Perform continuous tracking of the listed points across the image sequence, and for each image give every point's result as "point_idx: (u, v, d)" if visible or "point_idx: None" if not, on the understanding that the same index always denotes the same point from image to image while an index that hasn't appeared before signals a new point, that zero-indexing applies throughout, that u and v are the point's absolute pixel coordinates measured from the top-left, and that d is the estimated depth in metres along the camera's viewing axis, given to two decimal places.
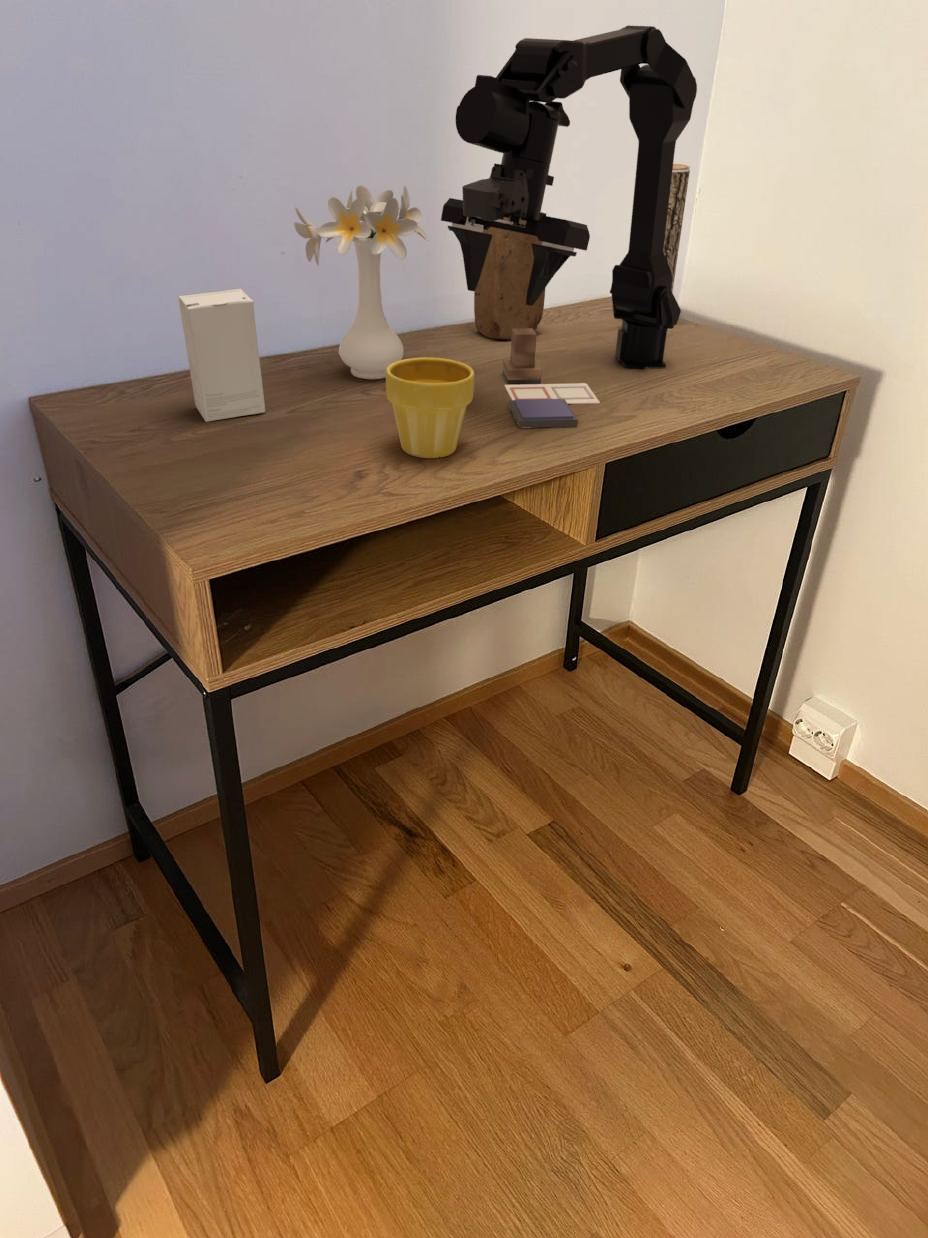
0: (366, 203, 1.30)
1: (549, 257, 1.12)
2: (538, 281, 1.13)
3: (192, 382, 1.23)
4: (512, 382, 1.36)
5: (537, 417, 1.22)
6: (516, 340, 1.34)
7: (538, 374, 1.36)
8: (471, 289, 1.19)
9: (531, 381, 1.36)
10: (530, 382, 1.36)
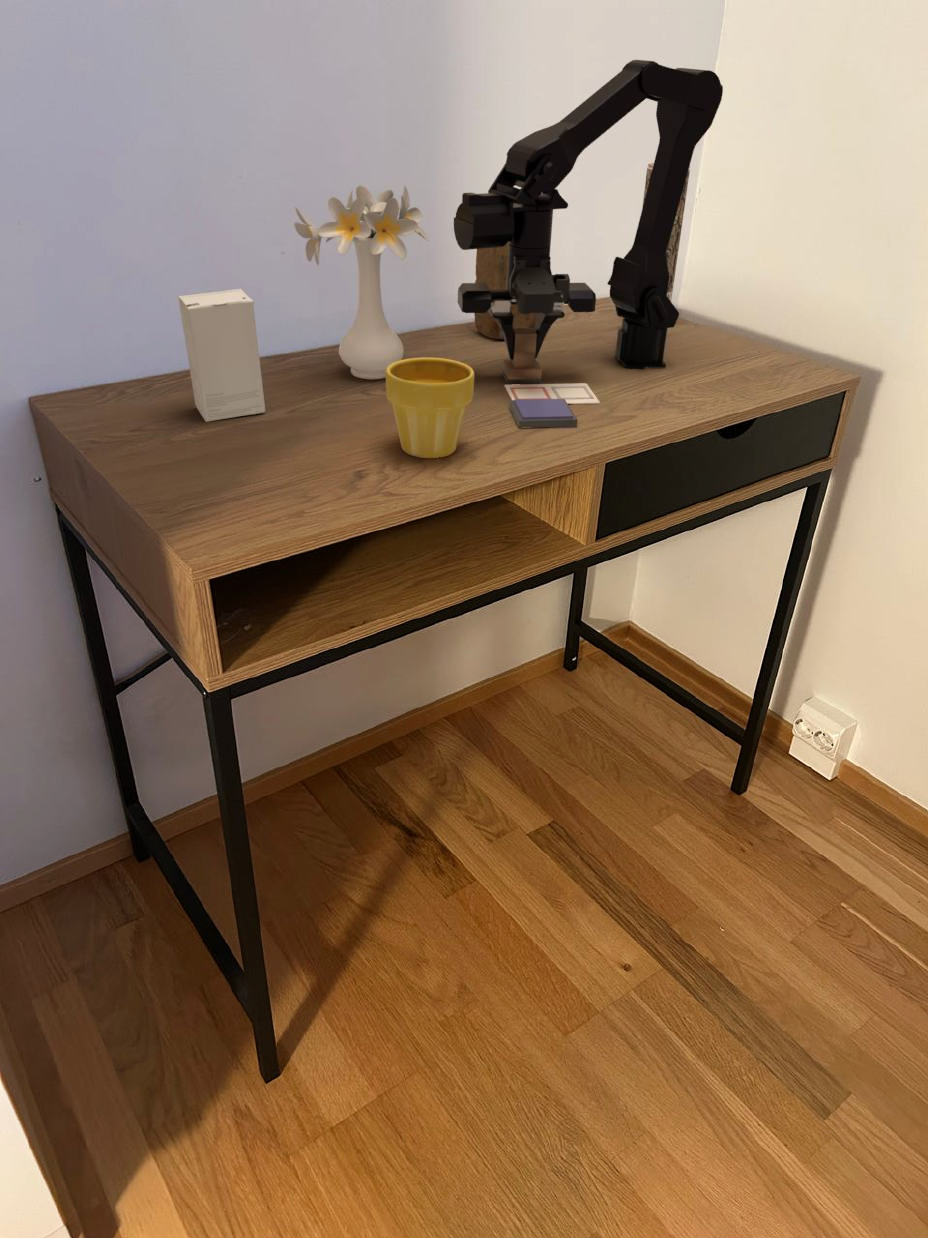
0: (366, 203, 1.30)
1: None
2: None
3: (192, 382, 1.23)
4: (512, 382, 1.36)
5: (537, 417, 1.22)
6: (516, 340, 1.34)
7: (538, 373, 1.36)
8: None
9: (531, 380, 1.36)
10: (530, 382, 1.36)
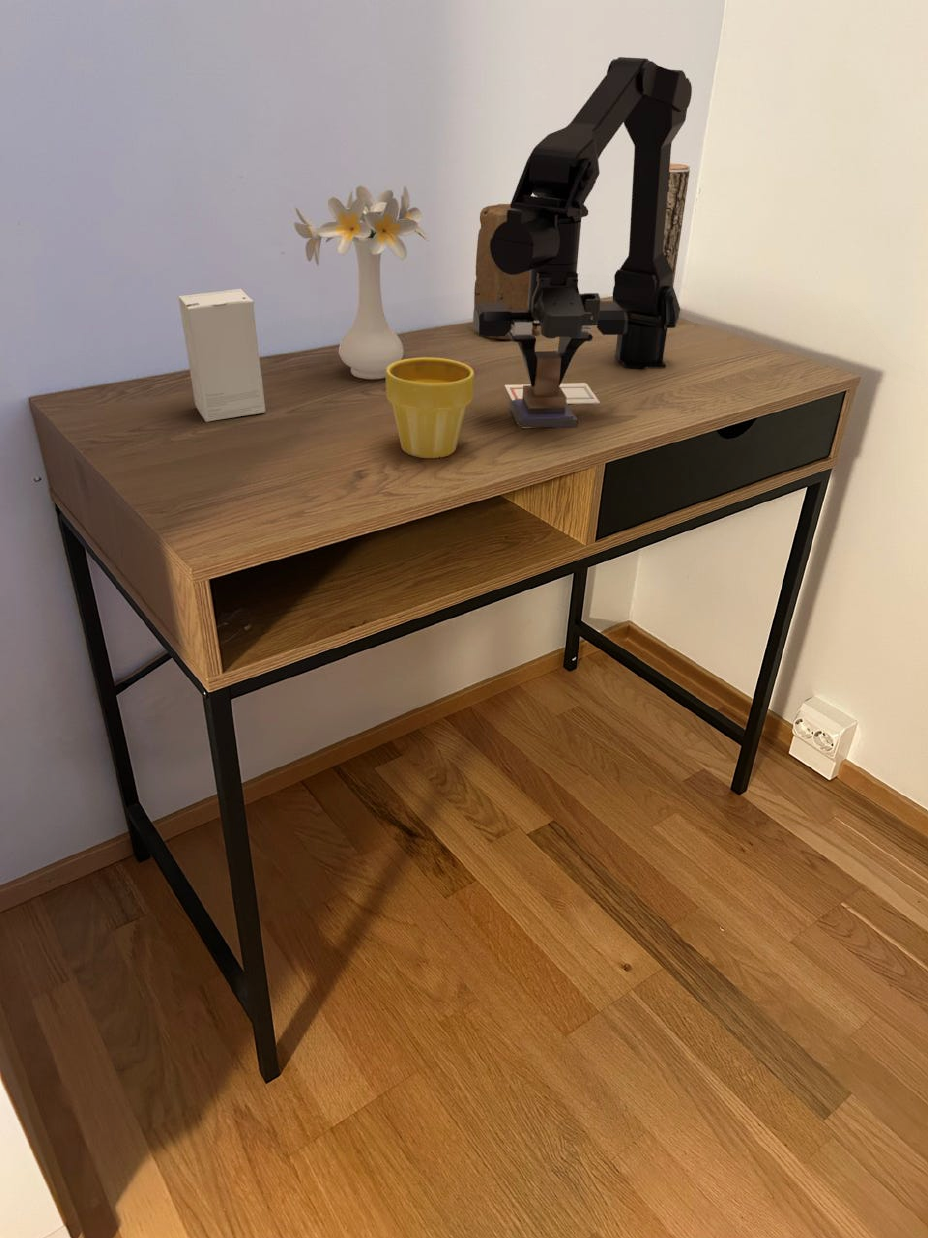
0: (366, 203, 1.30)
1: None
2: None
3: (192, 382, 1.23)
4: (533, 411, 1.22)
5: (537, 417, 1.22)
6: (538, 365, 1.20)
7: (562, 402, 1.22)
8: None
9: (555, 409, 1.23)
10: (553, 411, 1.23)
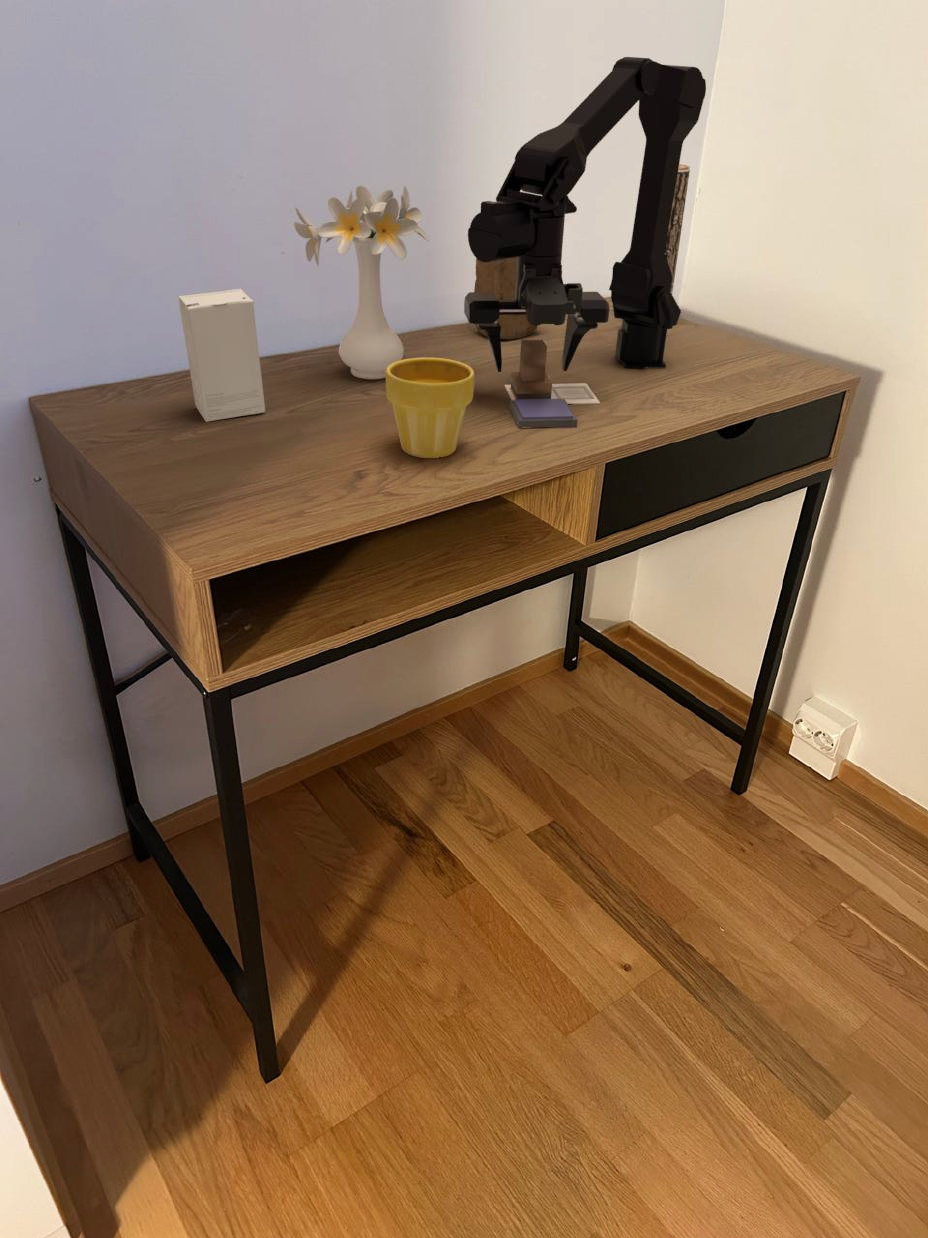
0: (366, 203, 1.30)
1: None
2: None
3: (192, 382, 1.23)
4: (521, 396, 1.30)
5: (537, 417, 1.22)
6: (525, 352, 1.28)
7: (548, 387, 1.30)
8: (500, 370, 1.30)
9: (541, 395, 1.30)
10: (540, 396, 1.30)
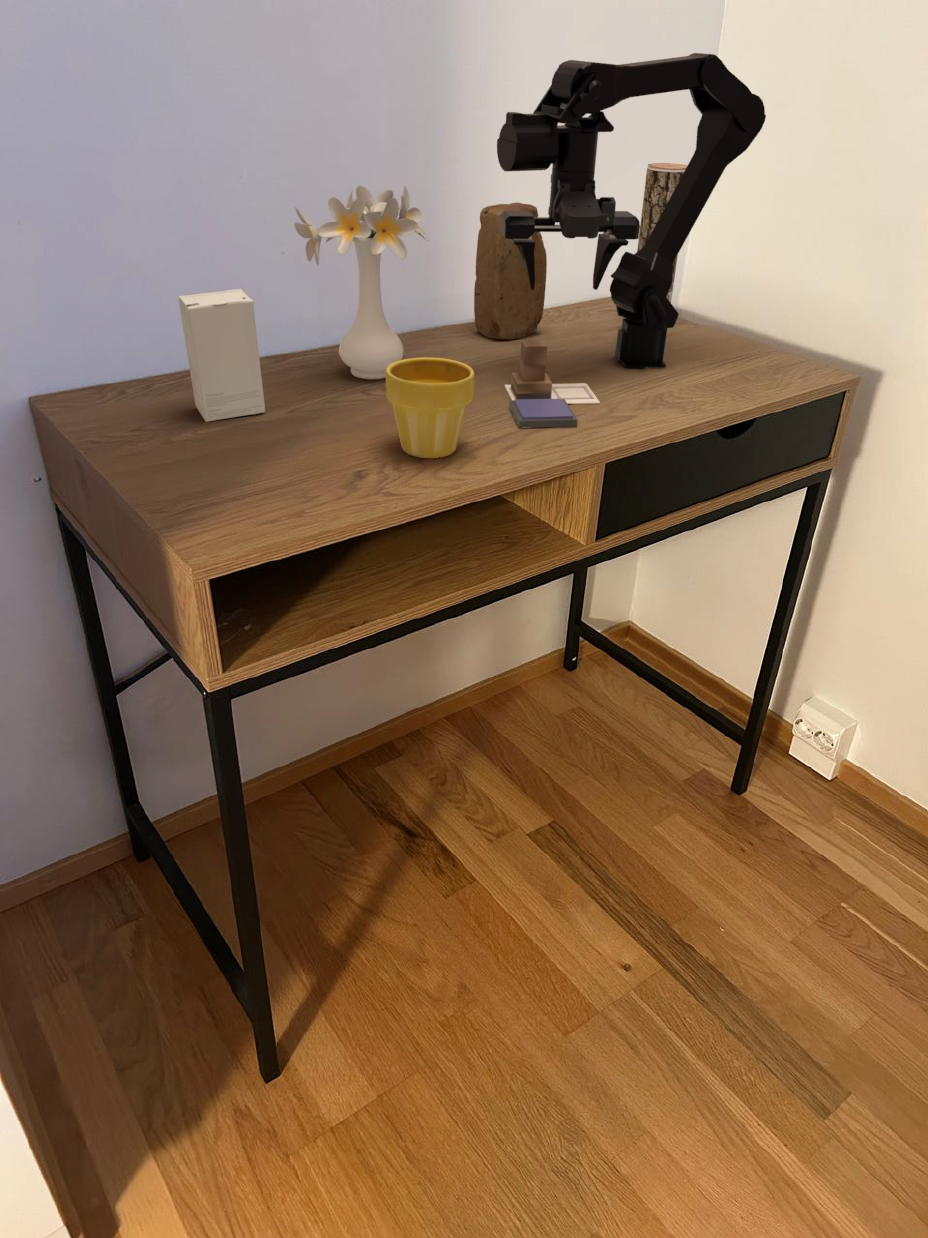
0: (366, 203, 1.30)
1: None
2: None
3: (192, 382, 1.23)
4: (521, 396, 1.30)
5: (537, 417, 1.22)
6: (525, 352, 1.28)
7: (548, 387, 1.30)
8: (533, 288, 1.34)
9: (541, 395, 1.30)
10: (540, 396, 1.30)
